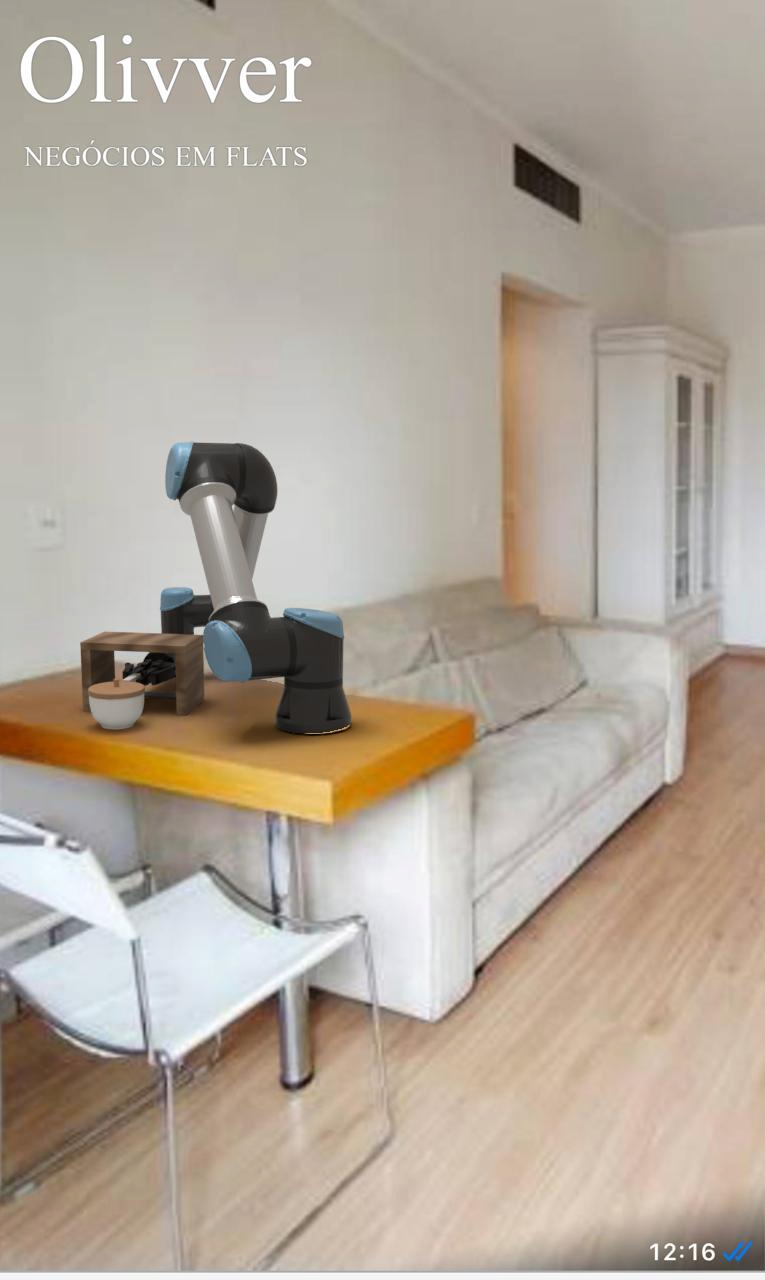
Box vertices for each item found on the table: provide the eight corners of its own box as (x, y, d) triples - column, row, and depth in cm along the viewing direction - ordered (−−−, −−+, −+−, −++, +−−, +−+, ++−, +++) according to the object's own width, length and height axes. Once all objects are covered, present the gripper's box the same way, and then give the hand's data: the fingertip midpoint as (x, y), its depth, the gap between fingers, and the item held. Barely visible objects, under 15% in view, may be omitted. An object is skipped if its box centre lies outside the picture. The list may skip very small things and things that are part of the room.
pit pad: (200, 695, 214) (200, 693, 214) (195, 699, 211) (195, 698, 210) (122, 692, 216) (122, 690, 216) (115, 696, 212) (115, 694, 212)
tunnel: (204, 700, 210) (203, 635, 208) (186, 715, 198) (184, 646, 195) (107, 696, 212) (104, 631, 210) (83, 710, 200) (80, 642, 197)
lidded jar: (129, 735, 183) (128, 687, 181) (78, 730, 185) (76, 683, 184) (155, 720, 193) (154, 675, 192) (106, 716, 196) (104, 671, 194)
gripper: (193, 680, 217) (158, 706, 194) (136, 678, 218) (95, 703, 195) (192, 647, 215) (157, 669, 192) (135, 645, 217) (94, 667, 194)
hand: (126, 686), depth 194 cm, fingers closed
